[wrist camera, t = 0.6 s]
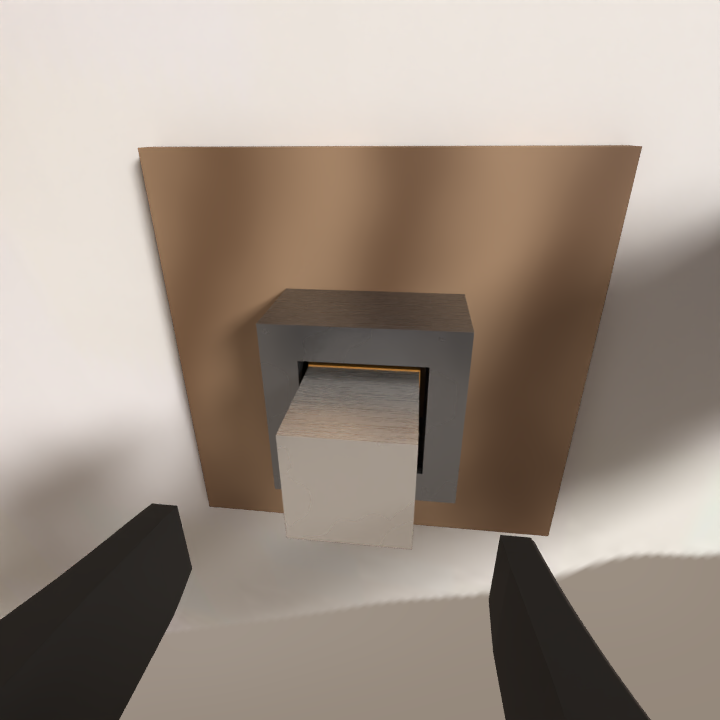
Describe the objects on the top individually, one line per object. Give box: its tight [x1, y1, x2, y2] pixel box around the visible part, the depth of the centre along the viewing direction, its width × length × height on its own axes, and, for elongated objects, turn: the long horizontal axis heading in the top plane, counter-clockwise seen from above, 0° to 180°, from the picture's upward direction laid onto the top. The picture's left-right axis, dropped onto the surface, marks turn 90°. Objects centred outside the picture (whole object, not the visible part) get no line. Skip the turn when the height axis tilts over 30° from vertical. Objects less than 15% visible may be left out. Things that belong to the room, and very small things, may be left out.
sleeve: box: [256, 288, 474, 503], centre depth 17 cm, size 6×6×4 cm
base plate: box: [138, 145, 642, 536], centre depth 19 cm, size 16×16×1 cm
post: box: [276, 362, 420, 549], centre depth 15 cm, size 4×4×7 cm
